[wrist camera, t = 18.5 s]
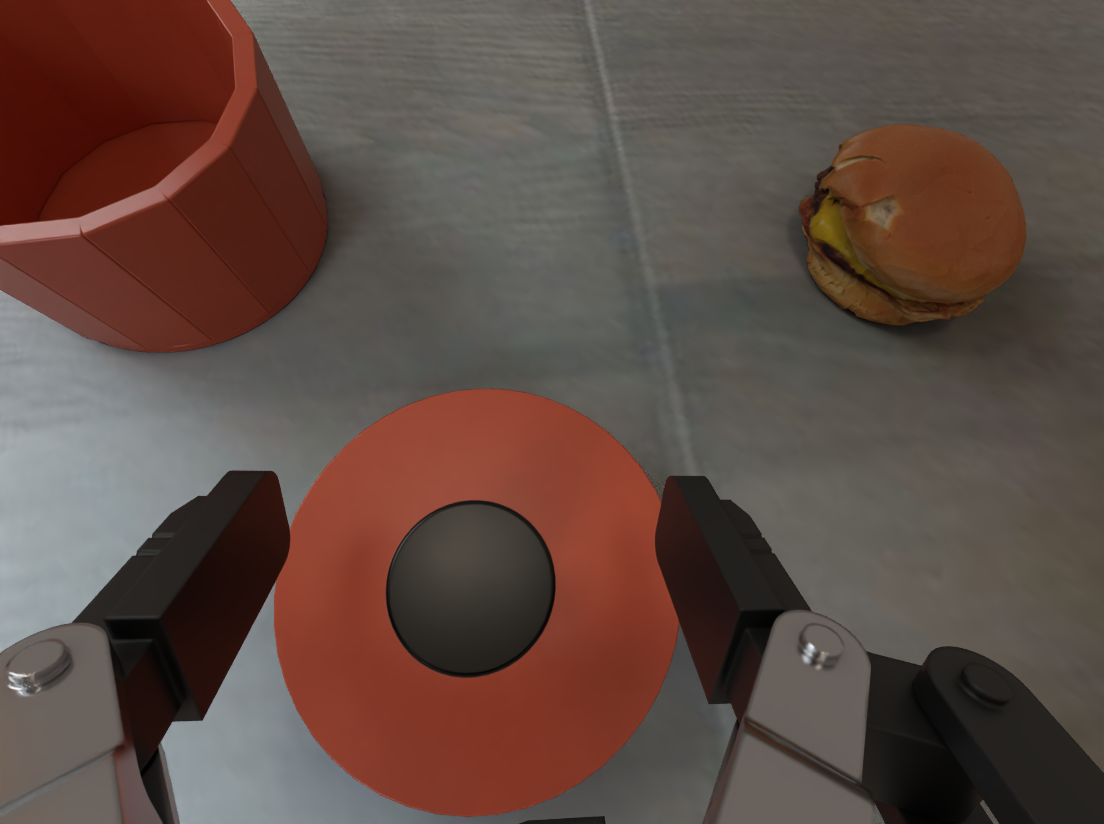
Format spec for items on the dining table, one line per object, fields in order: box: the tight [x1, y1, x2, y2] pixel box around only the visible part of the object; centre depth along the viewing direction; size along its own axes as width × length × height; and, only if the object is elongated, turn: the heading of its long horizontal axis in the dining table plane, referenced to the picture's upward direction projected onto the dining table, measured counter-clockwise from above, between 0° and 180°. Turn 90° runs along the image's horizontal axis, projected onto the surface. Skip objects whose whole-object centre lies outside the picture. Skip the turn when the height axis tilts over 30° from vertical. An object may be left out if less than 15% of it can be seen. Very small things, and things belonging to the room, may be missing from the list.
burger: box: [799, 124, 1026, 325], centre depth 24 cm, size 10×9×5 cm
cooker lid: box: [274, 389, 679, 817], centre depth 13 cm, size 13×13×10 cm
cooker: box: [0, 0, 328, 352], centre depth 20 cm, size 12×12×8 cm
